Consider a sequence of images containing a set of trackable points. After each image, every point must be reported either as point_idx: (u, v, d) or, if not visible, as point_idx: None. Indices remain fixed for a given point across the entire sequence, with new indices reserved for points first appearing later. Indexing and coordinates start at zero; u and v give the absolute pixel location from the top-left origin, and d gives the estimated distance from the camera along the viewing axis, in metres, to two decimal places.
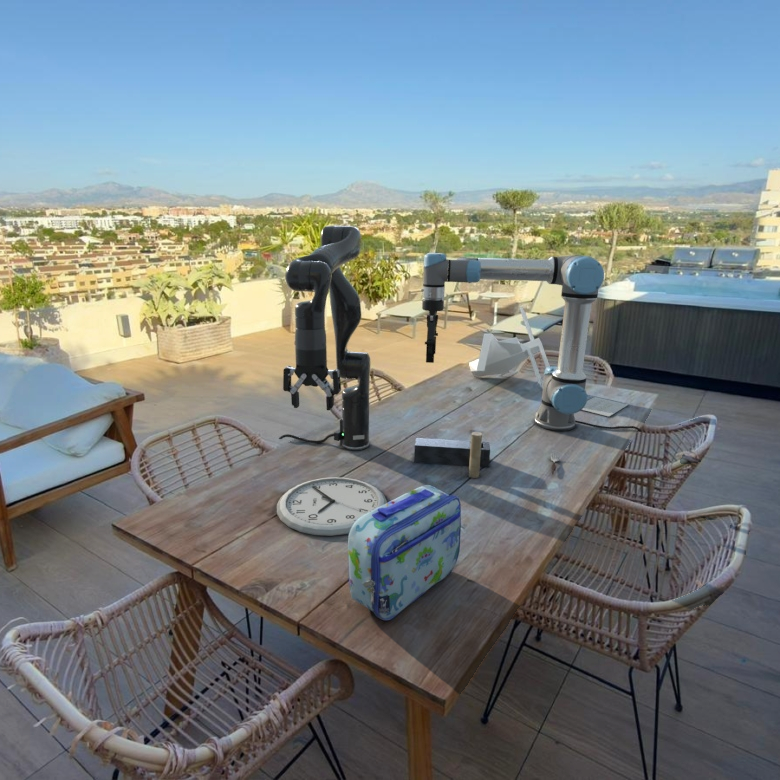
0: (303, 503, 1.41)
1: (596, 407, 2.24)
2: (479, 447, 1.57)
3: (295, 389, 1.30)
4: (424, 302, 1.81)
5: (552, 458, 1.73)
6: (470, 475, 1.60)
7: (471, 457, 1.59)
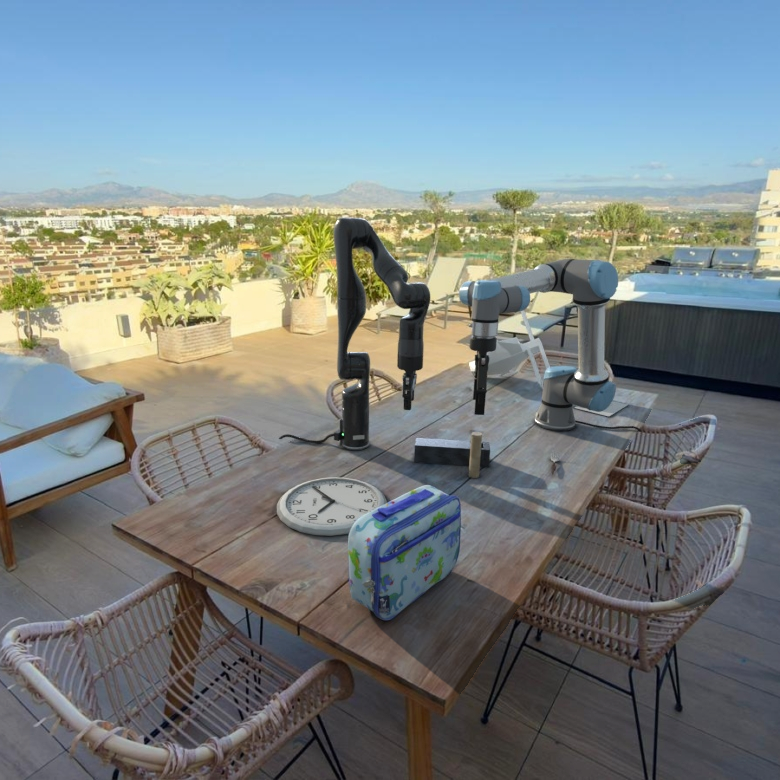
0: (303, 503, 1.41)
1: None
2: (479, 447, 1.57)
3: (412, 393, 1.52)
4: (473, 341, 1.47)
5: (552, 458, 1.73)
6: (470, 475, 1.60)
7: (471, 457, 1.59)
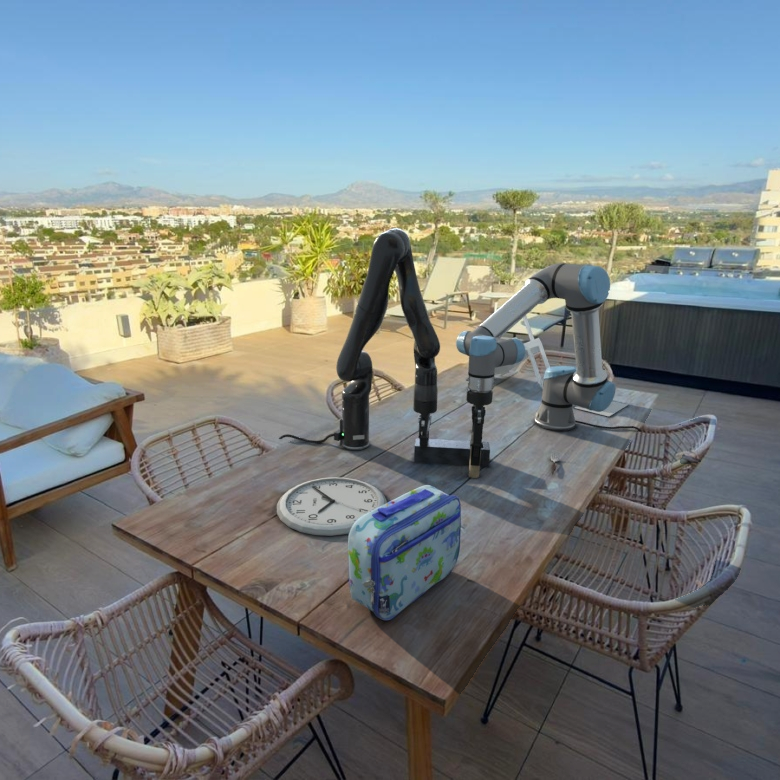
0: (303, 503, 1.41)
1: None
2: None
3: None
4: (470, 394, 1.51)
5: (552, 458, 1.73)
6: (470, 475, 1.60)
7: None
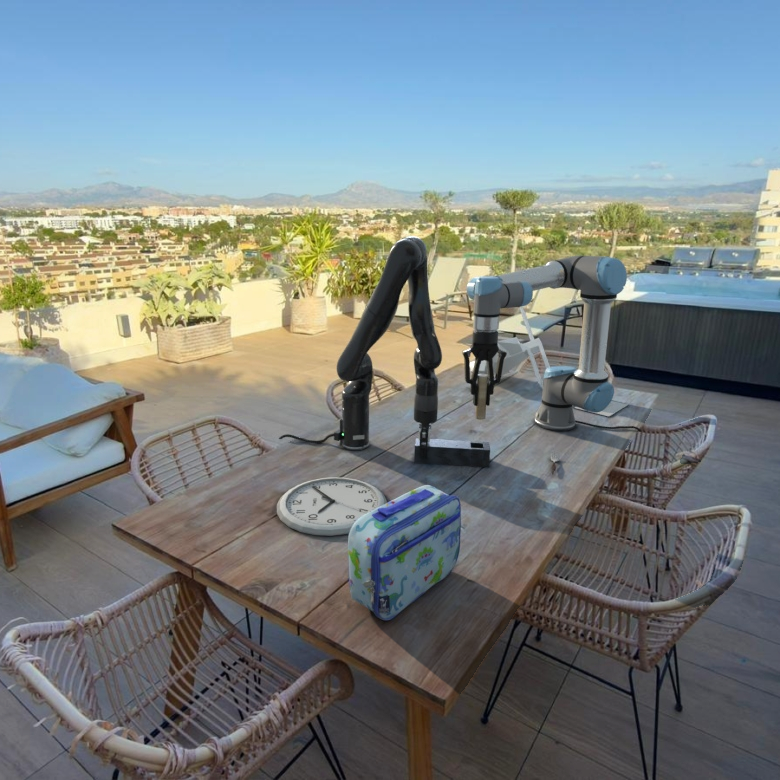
0: (303, 503, 1.41)
1: None
2: (478, 388, 1.60)
3: (427, 444, 1.67)
4: None
5: (552, 458, 1.73)
6: None
7: None
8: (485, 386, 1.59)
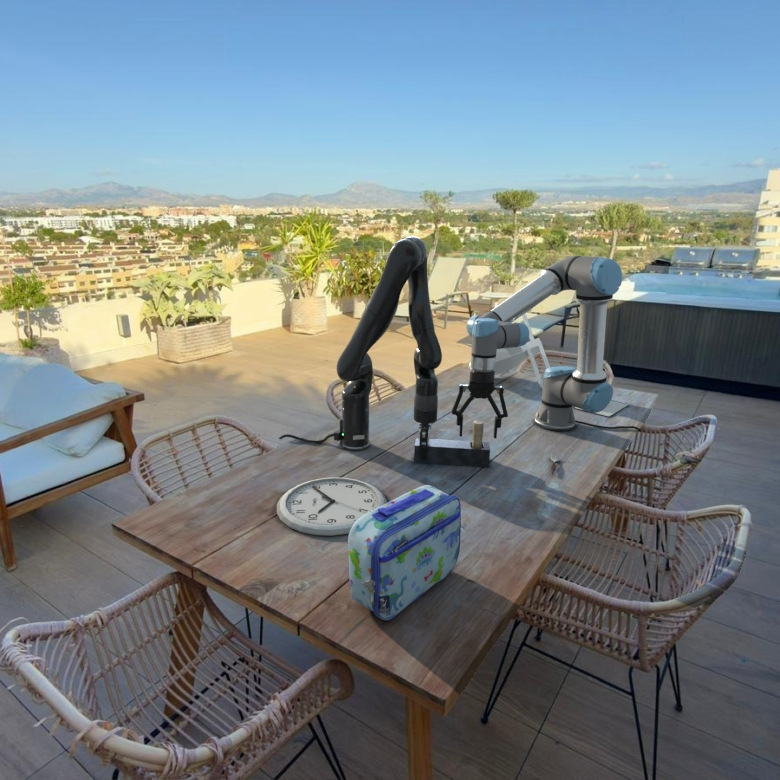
0: (303, 503, 1.41)
1: None
2: (474, 434, 1.67)
3: (427, 443, 1.67)
4: None
5: (552, 458, 1.73)
6: None
7: None
8: (480, 433, 1.66)
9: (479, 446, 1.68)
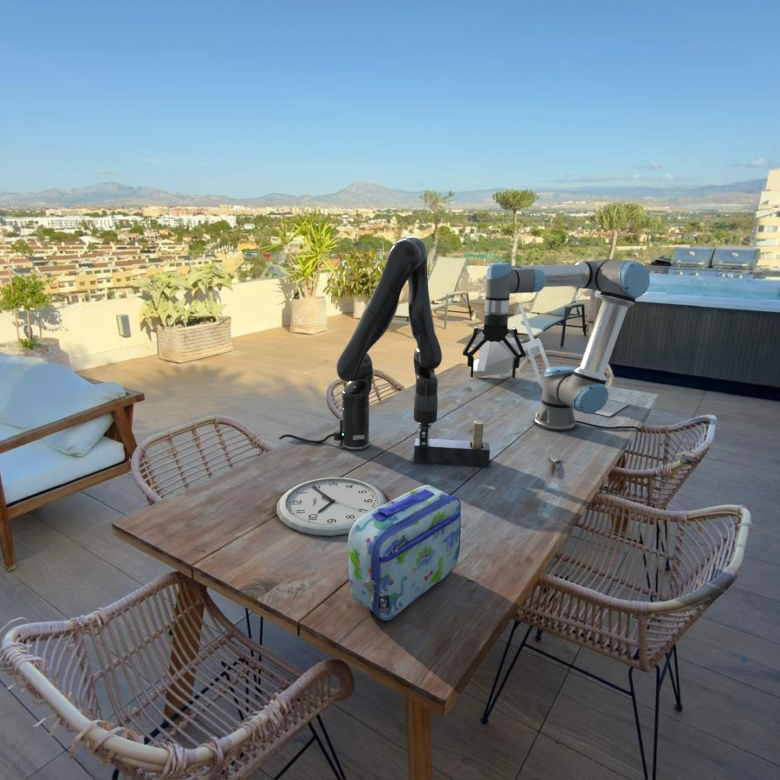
0: (303, 503, 1.41)
1: None
2: (474, 434, 1.67)
3: (427, 443, 1.67)
4: None
5: (552, 458, 1.73)
6: None
7: None
8: (480, 433, 1.66)
9: (479, 446, 1.68)
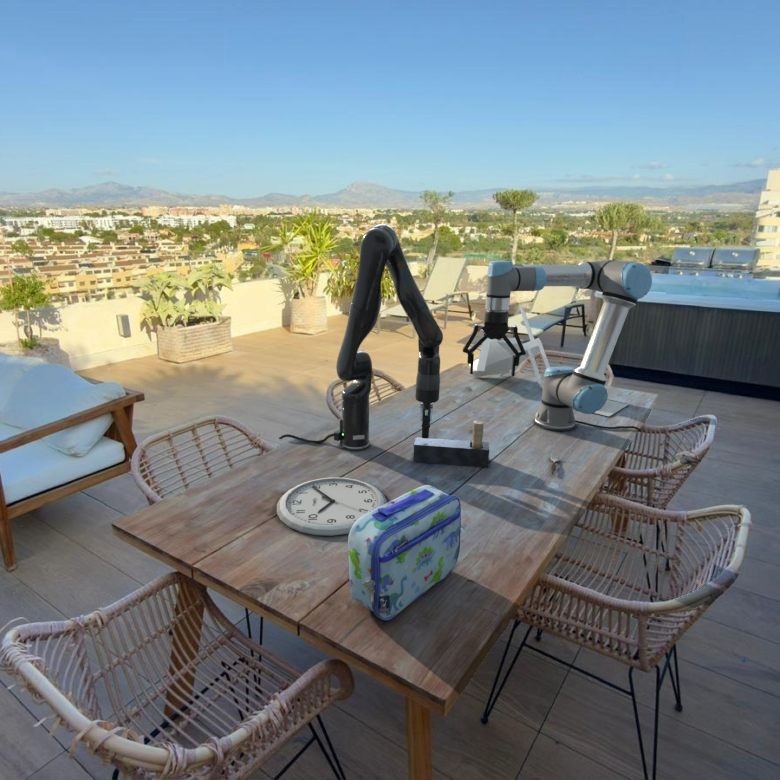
0: (303, 503, 1.41)
1: None
2: (474, 434, 1.67)
3: None
4: None
5: (552, 458, 1.73)
6: None
7: None
8: (480, 433, 1.66)
9: (479, 446, 1.68)
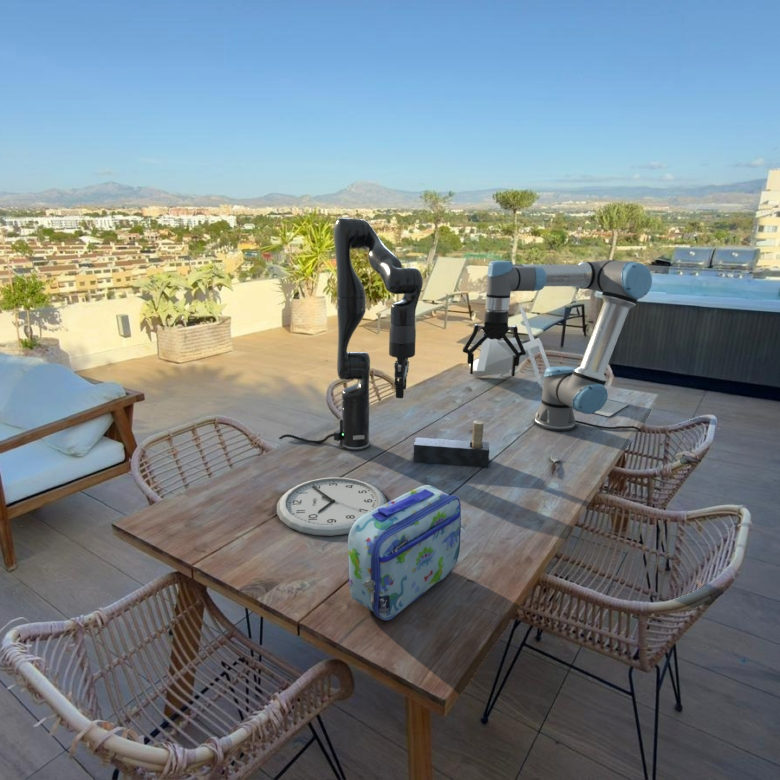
0: (303, 503, 1.41)
1: None
2: (474, 434, 1.67)
3: (404, 380, 1.49)
4: None
5: (552, 458, 1.73)
6: None
7: None
8: (480, 433, 1.66)
9: (479, 446, 1.68)
